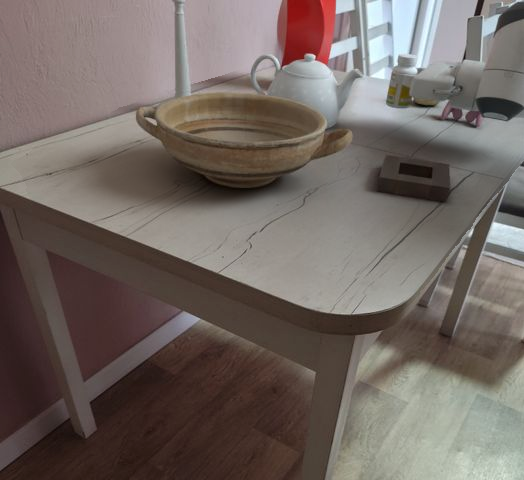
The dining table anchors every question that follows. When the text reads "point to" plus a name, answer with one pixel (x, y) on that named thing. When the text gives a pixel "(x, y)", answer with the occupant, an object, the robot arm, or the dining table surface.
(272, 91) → the teapot
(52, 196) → the dining table surface
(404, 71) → the supplement bottle
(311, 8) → the vase
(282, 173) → the ceramic bowl
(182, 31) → the candlestick
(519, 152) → the dining table surface
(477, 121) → the video game controller
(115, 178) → the dining table surface
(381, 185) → the socket
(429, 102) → the onion
